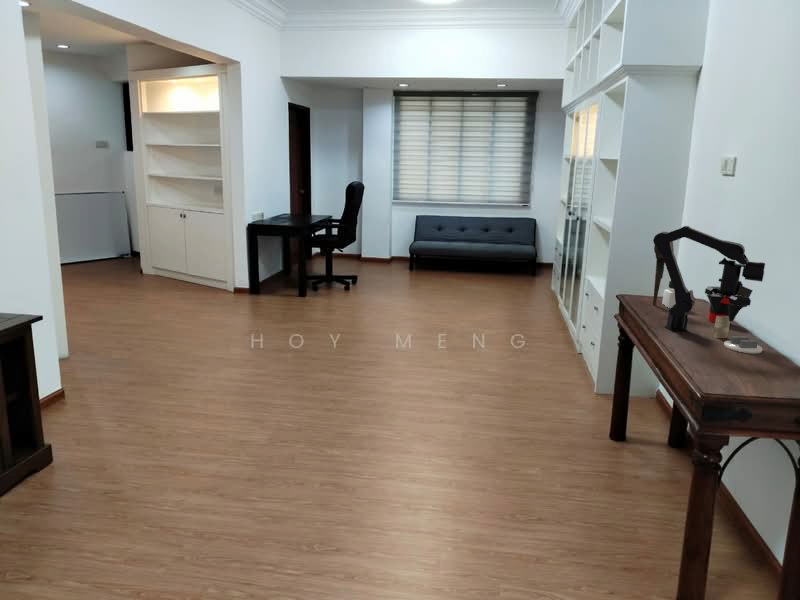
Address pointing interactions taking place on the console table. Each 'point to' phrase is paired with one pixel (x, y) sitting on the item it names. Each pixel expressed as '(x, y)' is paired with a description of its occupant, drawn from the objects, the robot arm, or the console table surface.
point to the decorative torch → (658, 273)
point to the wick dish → (743, 345)
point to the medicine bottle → (669, 296)
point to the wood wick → (721, 327)
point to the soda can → (722, 310)
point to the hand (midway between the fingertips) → (723, 317)
